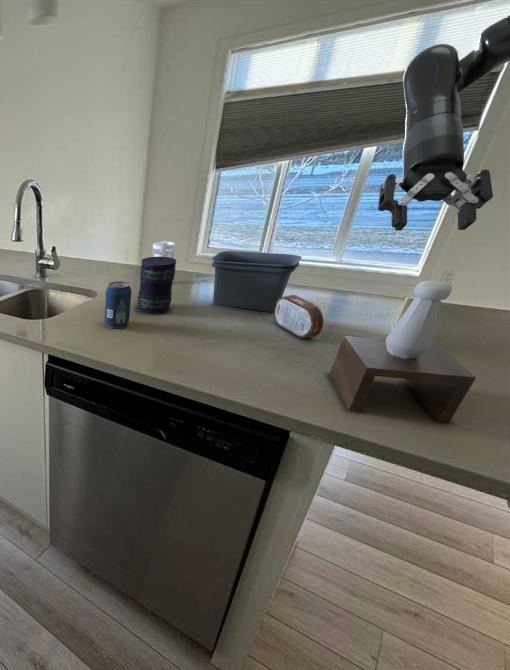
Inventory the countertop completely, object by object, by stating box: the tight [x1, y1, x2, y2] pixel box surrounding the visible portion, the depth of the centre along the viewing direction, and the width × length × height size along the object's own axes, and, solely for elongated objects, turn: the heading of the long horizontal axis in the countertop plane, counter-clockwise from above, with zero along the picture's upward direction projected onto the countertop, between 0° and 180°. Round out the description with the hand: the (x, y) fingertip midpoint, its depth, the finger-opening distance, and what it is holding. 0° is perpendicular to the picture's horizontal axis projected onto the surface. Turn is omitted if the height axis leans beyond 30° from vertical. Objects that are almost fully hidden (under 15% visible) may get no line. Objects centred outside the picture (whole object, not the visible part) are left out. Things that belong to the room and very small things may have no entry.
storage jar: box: [136, 256, 177, 315], centre depth 122 cm, size 10×10×15 cm
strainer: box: [151, 240, 176, 258], centre depth 144 cm, size 7×7×15 cm
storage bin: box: [211, 250, 302, 313], centre depth 120 cm, size 21×16×14 cm
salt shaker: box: [385, 280, 453, 359], centre depth 69 cm, size 6×6×13 cm
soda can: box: [103, 281, 132, 329], centre depth 114 cm, size 7×7×12 cm
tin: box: [273, 294, 324, 339], centre depth 102 cm, size 15×3×8 cm, turn 1°
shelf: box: [329, 335, 477, 423], centre depth 75 cm, size 14×14×9 cm
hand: (432, 227), depth 70 cm, fingers open, 8 cm apart
